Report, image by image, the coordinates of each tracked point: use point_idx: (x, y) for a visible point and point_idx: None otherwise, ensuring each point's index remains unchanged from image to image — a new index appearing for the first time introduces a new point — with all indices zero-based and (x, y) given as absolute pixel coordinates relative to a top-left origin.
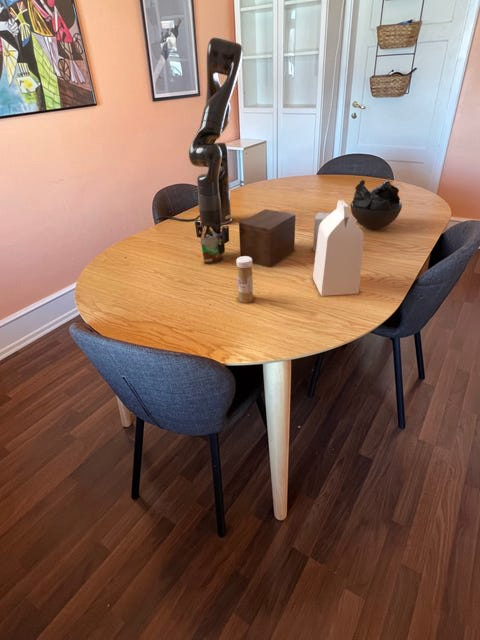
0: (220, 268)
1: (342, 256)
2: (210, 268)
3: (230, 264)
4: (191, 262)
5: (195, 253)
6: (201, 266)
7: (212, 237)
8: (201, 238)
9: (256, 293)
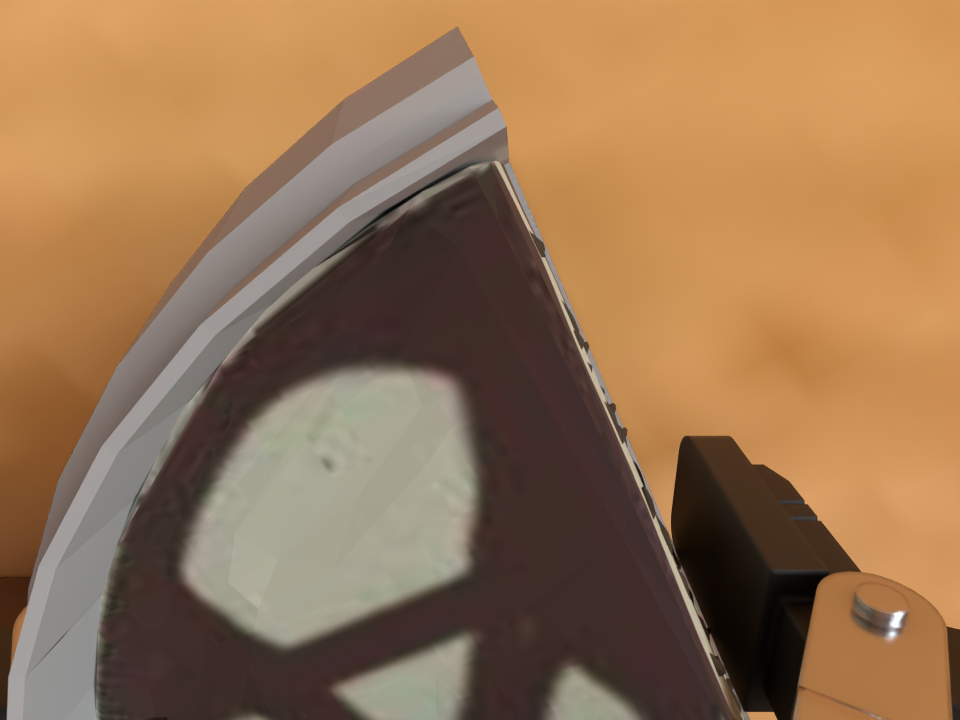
0: (108, 156)
1: None
2: (261, 49)
3: (100, 374)
4: (783, 63)
5: (924, 409)
6: (479, 22)
7: (31, 642)
8: (434, 137)
9: None
